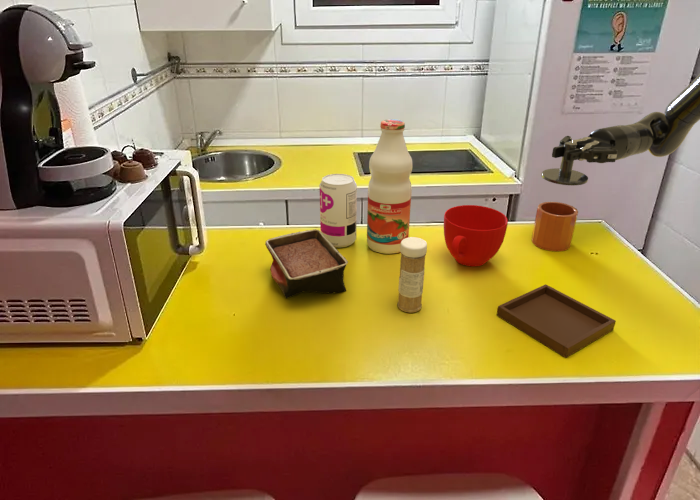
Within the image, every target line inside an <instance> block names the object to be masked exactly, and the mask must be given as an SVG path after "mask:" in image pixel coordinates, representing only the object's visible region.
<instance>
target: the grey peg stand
mask: <svg viewBox="0 0 700 500" xmlns="http://www.w3.org/2000/svg"><path fill="white" fill-rule="evenodd" d="M576 148H577V143H574V142H565V146H564V151H563V156H562V157H561V162H560V165H559V166H560V167H559V168H557V167H556V168H548V169H544V170H543V171H541V175H540V176H541V178H542V179H543V180H544V181H547V182H550V183H551V184H552V183H553V184H556V185H560V186H561V185H562V186H582V185H585V184H587V183H588V181H589V176H588V175H587V174H586V173H583V172H581V171H578V170H574V169H573V166H574V163H575V160H574V161H569V162H566V161H564V160H563V159H564V154H565V152H566V151H567V150H572V149H576Z"/></svg>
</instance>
